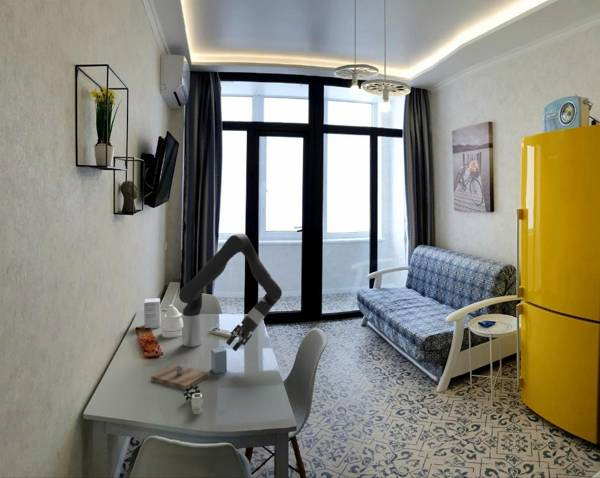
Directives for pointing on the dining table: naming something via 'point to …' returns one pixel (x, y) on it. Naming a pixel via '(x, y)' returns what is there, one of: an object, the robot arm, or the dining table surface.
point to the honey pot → (172, 323)
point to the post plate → (179, 376)
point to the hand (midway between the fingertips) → (230, 347)
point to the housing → (218, 360)
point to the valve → (194, 399)
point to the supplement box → (152, 313)
